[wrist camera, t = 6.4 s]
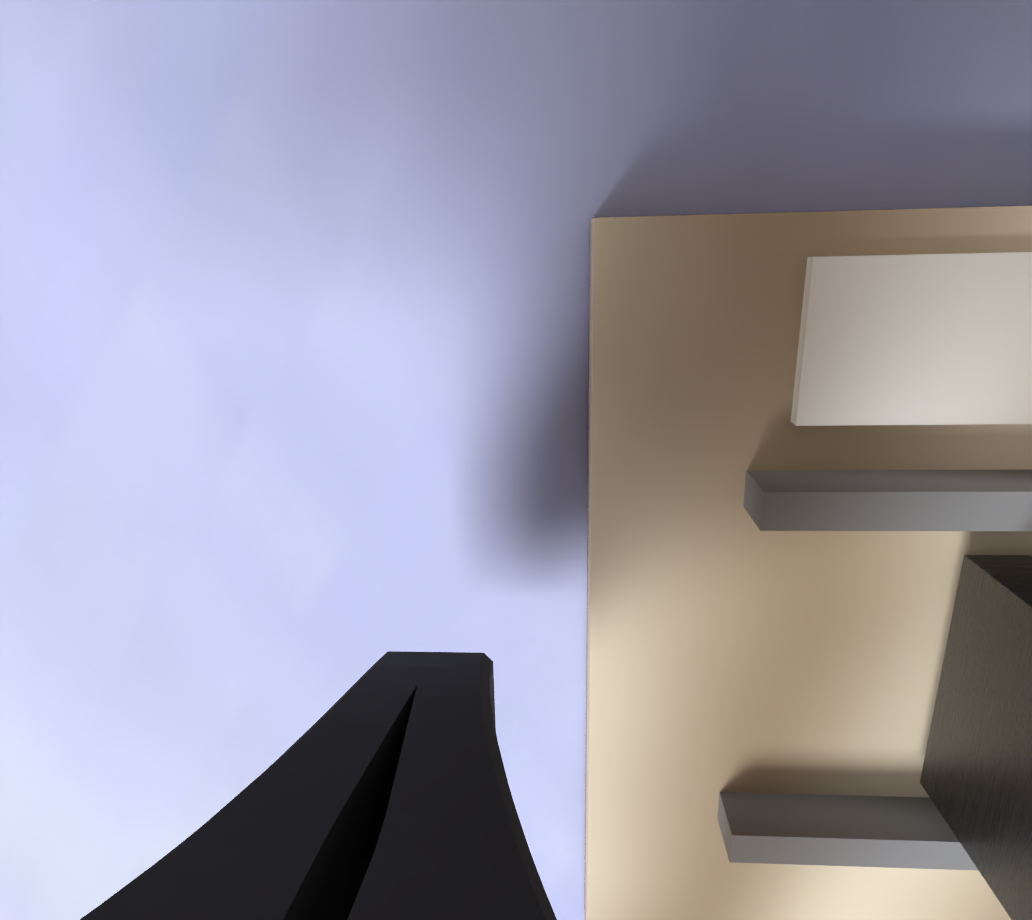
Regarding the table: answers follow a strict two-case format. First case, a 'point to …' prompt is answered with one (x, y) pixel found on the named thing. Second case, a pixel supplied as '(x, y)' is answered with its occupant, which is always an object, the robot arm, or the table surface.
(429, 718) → the robot arm
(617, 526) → the bench
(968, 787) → the block with upright rod
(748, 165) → the table surface
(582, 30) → the table surface
